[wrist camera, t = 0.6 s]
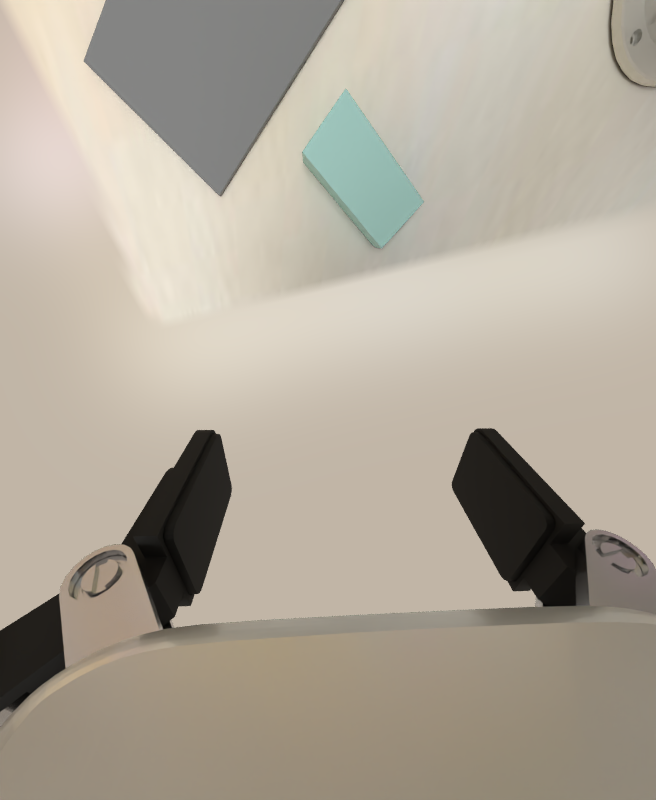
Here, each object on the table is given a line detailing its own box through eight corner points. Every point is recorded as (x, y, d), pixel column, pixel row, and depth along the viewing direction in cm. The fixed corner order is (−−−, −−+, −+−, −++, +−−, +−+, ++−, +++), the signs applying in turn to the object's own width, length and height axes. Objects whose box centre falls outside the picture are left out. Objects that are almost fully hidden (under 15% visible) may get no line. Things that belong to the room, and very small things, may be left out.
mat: (233, -322, 15) (231, -342, 14) (376, -53, 19) (378, -61, 19) (88, 65, 22) (83, 61, 21) (220, 196, 26) (219, 195, 26)
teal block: (340, 109, 24) (345, 88, 20) (410, 206, 28) (424, 201, 24) (303, 163, 26) (302, 151, 22) (373, 247, 29) (381, 248, 26)
